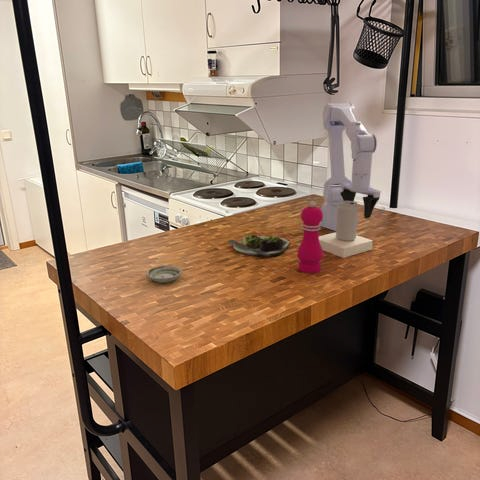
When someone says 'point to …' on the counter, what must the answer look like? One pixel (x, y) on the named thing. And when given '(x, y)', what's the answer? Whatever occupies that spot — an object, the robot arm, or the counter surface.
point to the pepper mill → (310, 240)
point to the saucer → (164, 273)
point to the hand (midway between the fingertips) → (358, 215)
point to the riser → (344, 245)
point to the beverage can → (346, 220)
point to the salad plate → (261, 245)
